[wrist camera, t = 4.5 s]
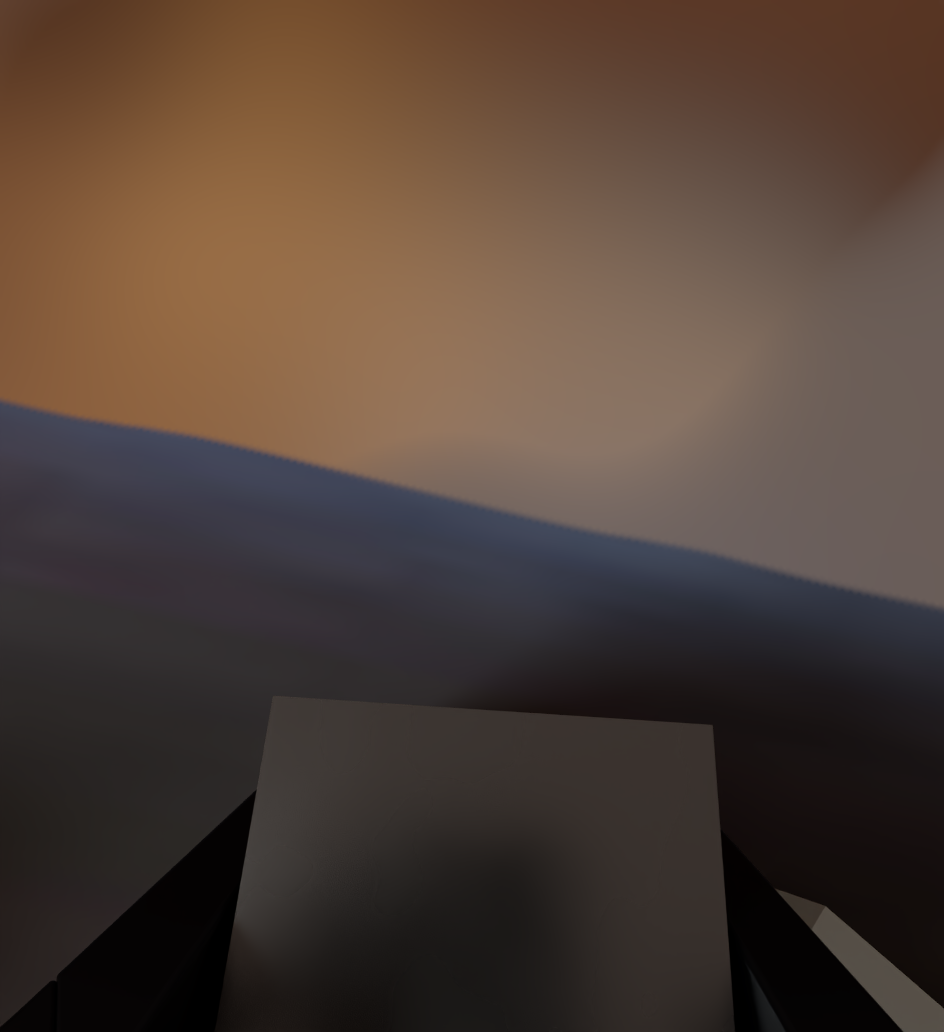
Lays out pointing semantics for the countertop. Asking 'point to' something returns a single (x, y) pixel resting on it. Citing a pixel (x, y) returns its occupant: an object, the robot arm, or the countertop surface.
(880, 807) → the countertop surface
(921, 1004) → the tray
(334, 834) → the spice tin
